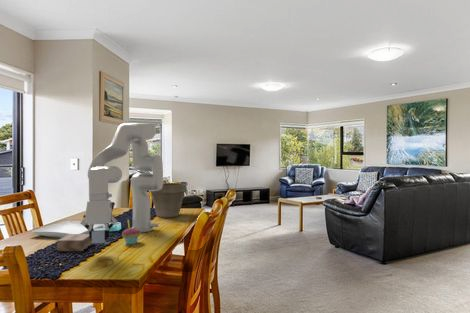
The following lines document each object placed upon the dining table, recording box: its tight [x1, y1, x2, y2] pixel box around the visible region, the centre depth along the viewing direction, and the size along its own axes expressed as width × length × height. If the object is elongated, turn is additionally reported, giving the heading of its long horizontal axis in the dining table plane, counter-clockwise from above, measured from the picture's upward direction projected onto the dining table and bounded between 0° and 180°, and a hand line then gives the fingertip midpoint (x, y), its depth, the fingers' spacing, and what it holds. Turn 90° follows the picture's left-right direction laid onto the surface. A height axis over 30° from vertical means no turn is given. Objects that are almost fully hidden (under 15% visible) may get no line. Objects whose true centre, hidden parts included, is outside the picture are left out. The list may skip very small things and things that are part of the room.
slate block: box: [91, 228, 107, 245], centre depth 140 cm, size 5×5×5 cm
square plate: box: [31, 220, 103, 239], centre depth 177 cm, size 27×27×4 cm
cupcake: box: [121, 219, 141, 245], centre depth 158 cm, size 9×8×12 cm
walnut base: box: [56, 234, 93, 252], centre depth 150 cm, size 11×11×5 cm
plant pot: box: [149, 182, 187, 219], centre depth 224 cm, size 25×25×22 cm
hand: (99, 239), depth 140 cm, fingers closed on slate block, 5 cm apart
